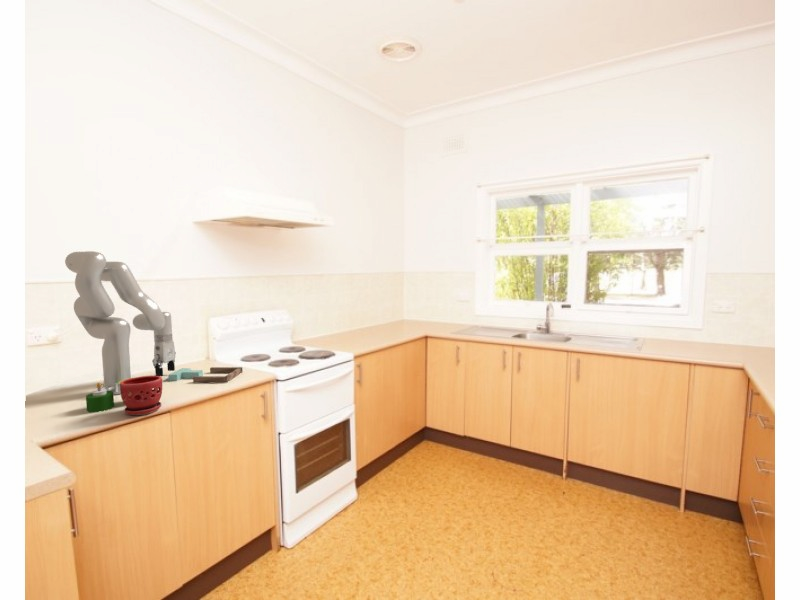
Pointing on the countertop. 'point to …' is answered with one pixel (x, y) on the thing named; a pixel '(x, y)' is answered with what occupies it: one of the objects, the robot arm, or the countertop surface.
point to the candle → (99, 400)
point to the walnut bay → (232, 370)
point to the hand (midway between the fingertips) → (165, 373)
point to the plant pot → (141, 394)
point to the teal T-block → (184, 374)
